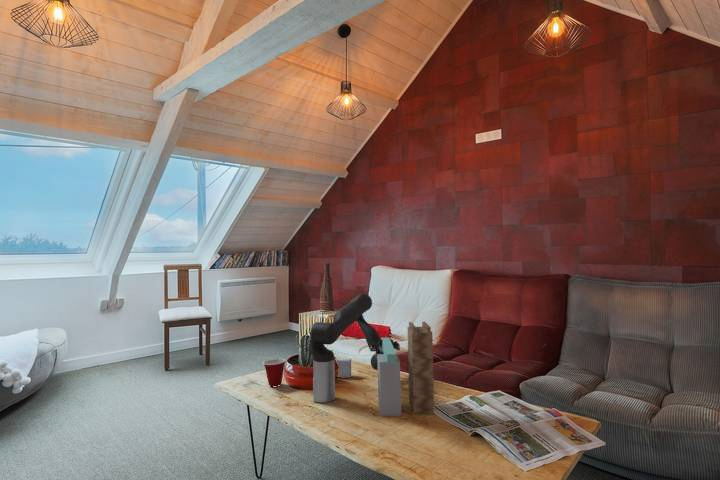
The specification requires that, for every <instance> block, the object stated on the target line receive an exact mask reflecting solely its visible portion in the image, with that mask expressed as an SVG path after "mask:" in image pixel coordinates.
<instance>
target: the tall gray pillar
mask: <svg viewBox="0 0 720 480" xmlns="http://www.w3.org/2000/svg"><path fill="white" fill-rule="evenodd" d="M396 357H397V364H387V361H386V358H385V355H384V354H377V361H378V370H377V391H378V392H377V393H378V395H377V396H378V398H377V400H378V401H377V402H378V409H379V414H380V417H392V416H393V417H394V416H395V417H397V416H398V417H399V416H402V391H401V387H402V386H401V385H402V384H401V361H400V359H399V356H398V354H397V353H396Z"/></svg>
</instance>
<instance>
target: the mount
mask: <svg viewBox="0 0 720 480" xmlns="http://www.w3.org/2000/svg"><path fill="white" fill-rule="evenodd" d="M421 325H422V326H416V325H415V324H414V323H413V322H412V321H410V322H408V326H407V358H408V359H407V361H408V364H407V365H408V399H409V401H408V402H409V405H410V408H411V410H412V413H413V416H424V415H427V416H428V415H435V397H434V396H435V393H434V387H435V385H434V346H433V345H434V343H433V331H432V330H431V329H432V327H431V326H430V325H429V324H428V323H427V322H426V321H422V322H421Z"/></svg>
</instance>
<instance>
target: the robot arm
mask: <svg viewBox="0 0 720 480" xmlns="http://www.w3.org/2000/svg"><path fill="white" fill-rule="evenodd" d="M372 306H373V300H372V297H370V295H369V294H367V293H360V294H358V295H357V296H355V297H354V298H352V299H351V300H350V301H349V303H348V304H346V305H344V306H342V307H341V308H339V309H338V310H337V311H336V312H335V313H334V315H333V322H320V321H318V322H317V321H316V322H314V323H313V324H312V325H311V328H310V344H311V345H310V346H311V355H312V367H313V368H312V369H313V370H312V371H313V374H312V375H313V379H312V390H313V391H312V396H313V397H312V400H313V401H314V402H315V403H323V404H324V403H326V404H327V403H330V402H331V403H332V402H333V401H334V400H335V399H336V384H335V383H336V381H335V380H336V378H335V353H334V351H332V350H331V349H329V348H328V347H326V346H325V345H332V344H335V342H336V341H337V340H338V339H339V338H340V336H342V334H343V333H344V332H345V331H346V330H348V328H350V327H351V326H352V325H353V324H354V323H355V322H357V324H358V326H359V327H360V329H361V332H362V335H363V336H364V339H365V341H366V344H367V346H368V349H369V352H375V353H374V354H373V355H372V356H371V358H370V365H371V368H372V369H373V370H375V371H378V361H377V354H384V352H383V349H382V339H381V336H380V335H379V332H378V331H377V329H376V328H375V327H373V326H372V324H370V323H368V322H367V321H366V320H365V318H364V316H363V314H364V313H366V312H367V311H369V310H370V309H371V308H372ZM390 341H391V343H392V345H393V347H394V350H395V351H401V346H400V343H399V342H398V341H396V340H395V341H394V340H393V339H392V338H390Z"/></svg>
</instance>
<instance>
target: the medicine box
mask: <svg viewBox="0 0 720 480" xmlns="http://www.w3.org/2000/svg"><path fill="white" fill-rule="evenodd" d="M336 359H337V362H338V366H339V377H341V378H342V379H343V378H345V379H346V378H351V377H352V358H336Z"/></svg>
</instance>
